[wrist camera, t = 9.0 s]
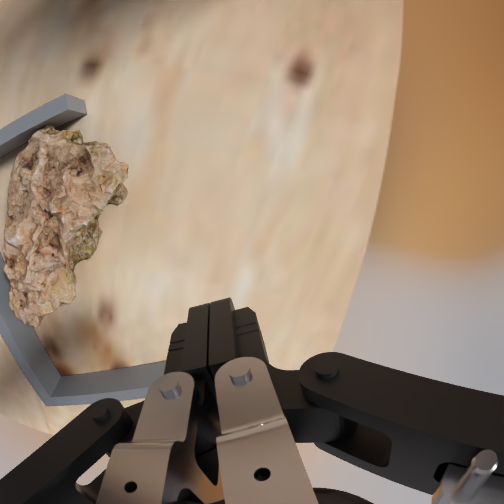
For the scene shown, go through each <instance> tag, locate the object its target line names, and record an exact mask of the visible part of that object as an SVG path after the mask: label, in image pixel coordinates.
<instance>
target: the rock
mask: <svg viewBox="0 0 504 504" xmlns="http://www.w3.org/2000/svg"><path fill="white" fill-rule="evenodd" d="M28 143H29V144H28V145H27V147H26V148H25V149H24V150H22V151H20V152H19V154H18V156H17V158H16V160H15V162H14V165H13V169H12V172H11V179H10V183H9V187H8V195H9V196H8V209H9V210H8V214H9V217H8V220H7V222H6V224H5V230H4V240H5V246H4V249H3V252H4V254H5V258H6V260H5V263H4V267H3V271H4V272H5V273H6V274H7V276H8V279H10V284H11V291H10V292H9V296H10V301H9V306H10V308H11V310H12V311H13V310H14V312H15V316H16V317H17V318H19V319H20V320H22V321H23V323H24V324H26V323H28V324H29V326H33V327H37V326H38V325H40V323H41V320H42V319H43V317H44V316H45V315H47V314H49V313H51V312H53V311H54V310H56V309H57V307H58V306H59V305H60V304H61V303H63V304H68V305H69V304H70V303H71V302H72V300H73V299H74V298H75V296H76V290H75V284H76V276H75V274H74V272H73V271H74V267H75V265H76V264H77V262H79V261H81V260H83V259H85V258H91V256H92V255H93V253H94V252H95V250H96V249H97V245H98V241H99V238H100V236H101V234H102V230H101V229H100V228H99V226H98V218H99V215H101V212H102V210H103V209H104V207H105V205H107V204H108V202H109V203H113V204H116V205H119V204H121V203H122V202H123V201H124V200H125V198H126V196H127V194H128V191H127V189H126V188H125V186H124V185H123V182H124V181H125V180H126V179H127V178H128V164H126V163H125V162H121V163H119V162H118V160H117V159H116V157H115V156H114V154H113V152H112V151H111V149H110V145H108V144H107V143H98V142H95V141H94V142H88V143H83V138H82V135H81V133H80V130H63V131H58V130H55V129H54V127H52V126H50V125H47V126H46V127H45V128H44V129H40V130H38V131H36V132H35V133H34V134H33V135H32V137H31V139H30V140H29V141H28Z"/></svg>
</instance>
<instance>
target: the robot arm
mask: <svg viewBox="0 0 504 504" xmlns="http://www.w3.org/2000/svg"><path fill="white" fill-rule="evenodd" d="M168 351H169V352H168V355H167V360H166V365H165V370H164V375H163V376H161V377H159V378H158V379H156V380H155V381H154V382H153V383H152V384H151V385H150V387H149V389H148V391H147V394H146V398H145V400H144V401H142V402H140V403H137V404H134V405H132V406H129V407H127V408H124V407H123V406H122V404H121V403H120V402H119V401H118V400H116V399H114V398H104V399H101V400H98V401H96V402H94V403H93V404H91V405H90V406H89V407H88V408H86V409H85V410H84V411H83V412H82V413H80V414H79V415H78V416H77V417H76V418H74V419H73V420H72V421H71V422H70V423H68V424H67V425H66V426H65V427H64V428H62V429H61V430H60V431H59V432H58V433H56V434H55V435H54V436H53V437H52V438H50V439H49V440H48V441H47V442H46V443H44V444H43V445H42V446H41V447H40V448H39V449H37V450H36V451H35V452H34V453H32V454H31V455H30V456H29V457H27V458H26V459H25V460H24V461H23V462H21V463H20V464H19V465H18V466H16V467H15V468H14V469H13V470H12V471H10V472H9V473H8V474H7V475H5V476H4V477H3V478H2V479H1V480H0V504H373V503H371V502H369V501H367V500H365V499H363V498H361V497H359V496H356V495H353V494H350V493H347V492H344V491H339V490H335V489H327V488H312V486H311V483H310V480H309V478H308V475H307V472H306V470H305V467H304V465H303V462H302V460H301V457H300V454H299V452H298V449H297V446H296V444H295V443H312V442H314V444H315V445H316V446H317V447H318V448H320V449H321V450H323V451H325V452H328V453H330V454H332V455H334V456H336V457H338V458H340V459H342V460H344V461H347V462H349V463H351V464H353V465H355V466H358V467H360V468H362V469H364V470H367V471H369V472H371V473H374V474H376V475H379V476H381V477H384V478H386V479H389V480H391V481H394V482H397V483H399V484H402V485H405V486H408V487H410V488H413V489H416V490H419V491H422V492H425V493H428V494H431V495H433V497H432V504H504V396H503V395H498V394H493V393H488V392H483V391H479V390H474V389H469V388H465V387H461V386H457V385H452V384H449V383H444V382H440V381H437V380H432V379H429V378H425V377H421V376H417V375H414V374H410V373H406V372H403V371H399V370H396V369H392V368H389V367H385V366H382V365H378V364H375V363H372V362H368V361H365V360H362V359H358V358H355V357H352V356H349V355H345V354H342V353H337V352H326V353H321V354H318V355H315V356H313V357H311V358H310V359H308V360H307V361H306V362H304V363H303V365H302V366H301V368H300V370H281V369H277V368H275V367H273V366H271V365H270V364H269V361H268V357H267V352H266V348H265V344H264V341H263V338H262V334H261V331H260V327H259V324H258V320H257V317H256V313H255V312H254V311H252V310H251V309H250V308H249V307H246V308H242V309H238V310H235V309H234V306H233V303H232V300H231V298H226V299H222V300H218V301H215V302H211V303H207V304H203V305H199V306H195V307H191V308H189V313H188V320H187V323H182V324H179V325H178V326H177V328H176V329H175V330H174V331H173V333H172V335H171V340H170V345H169V350H168ZM105 453H106V454H107V455H108V456H109V457H110V459H109V462H108V465H107V468H106V469H105V470H104V471H103V472H102V473H101V474H100V475H99V476H98V477H96V478H95V479H94V480H93V481H92V482H91V483H90V484H88V485H85V486H82V485H79V484H77V483H76V481H77V479H78V478H79V477H80V476H81V475H82V474H83V473H84V472H85V471H87V470H88V469H89V468H90V467H91V466H92V465H93V464H94V463H96V462H97V461H98V460H99V459H100V458H101V457H102V456H103V455H104V454H105Z"/></svg>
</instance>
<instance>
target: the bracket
mask: <svg viewBox="0 0 504 504" xmlns="http://www.w3.org/2000/svg"><path fill="white" fill-rule="evenodd" d="M86 114H87V112H86V107H85V101H84V100H82V99H79V98H76V97H73V96H70V95H67V94H65V95H63V96H61V97H58V98H56V99H54V100H52V101H50V102H48V103H46V104H44V105H42V106H41V107H39V108H37V109H35V110H33V111H31V112H29V113H28V114H26V115H24V116H22V117H20V118H19V119H17V120H15V121H14V122H12V123H10V124H9V125H7V126H5V127H4V128H2V129H0V157H2V156H3V155H5V154H7V153H9V152H10V151H12V150H14V149H16V148H17V147H19V146H21V145H23V144H25V143H27V142H28V141H29V140H30V139H31V137H32V135H33V134H34V133H35V132H36V131H38V130H40V129H44V128H45V127H46V126H47V125H50V126H52V127H54V128H57V127H59V126H61V125H63V124H65V123H67V122H70V121H72V120H74V119H76V118H79V117H81V116H83V115H86ZM3 267H4V261H3V258H2V255H1V253H0V334H1V335H2V337H3V339H4V341H5V343H6V345H7V346H8V348H9V350H10V352H11V353H12V355H13V357H14V358H15V360H16V362H17V363H18V365H19V367H20V368H21V370H22V371H23V373H24V375H25V376H26V378H27V379H28V381H29V382H30V384H31V385H32V387H33V388H34V390H35V391H36V392H37V394H38V395H39V397H40V398H41V400H42V401H43V402H44V404H45V405H46V406H64V405H81V404H93V403H94V402H96V401H98V400H101V399H104V398H114V399H116V400H118V401H124V400H132V399H140V398H146V394H147V391H148V389H149V387H150V385H151V384H152V383H153V382H154V381H155V380H156V379H158V378H159V377H161V376H163V375H164V370H165V365H166V361H161V362H155V363H150V364H144V365H139V366H133V367H127V368H120V369H114V370H107V371H100V372H93V373H86V374H78V375H69V376H61V375H60V374H59V372H58V371H57V369H56V367H55V366H54V364H53V362H52V361H51V359H50V357H49V356H48V354H47V352H46V350H45V349H44V347H43V345H42V343H41V341H40V340H39V338H38V336H37V334H36V332H35V330H34V328H33V326H29V324H28V323H26V324H24V323H23V321H22V320H20V319H19V318H17V317H16V316H15V312H14V310H13V311H12V310H11V308H10V306H9V301H10V296H9V292H10V291H11V284H10V279H8V276H7V274H6V273H5V272H4V271H3Z"/></svg>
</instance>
